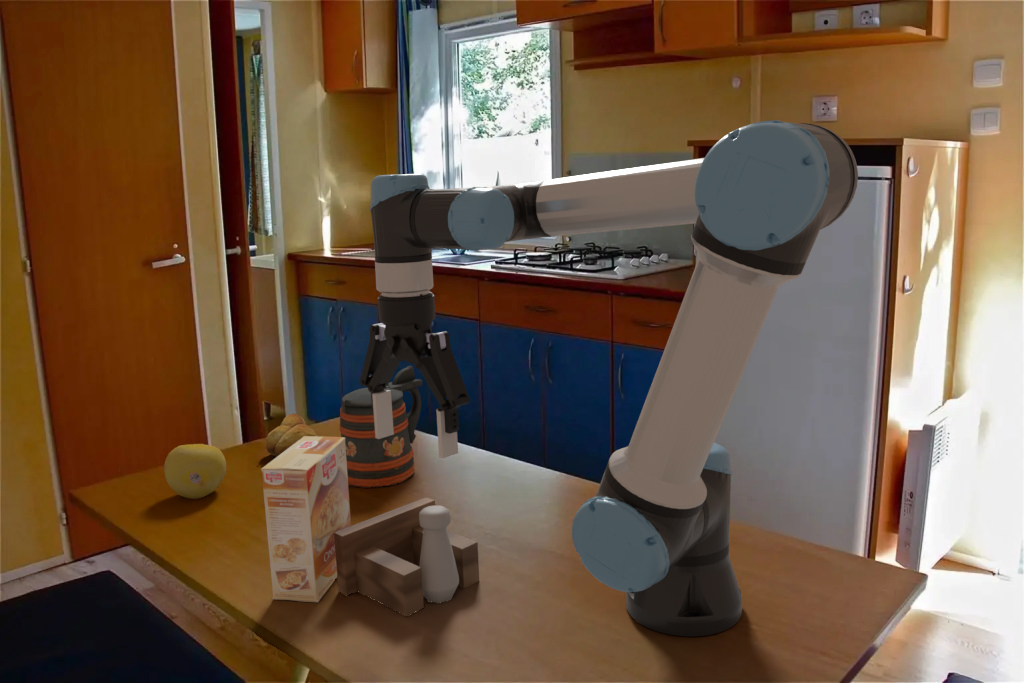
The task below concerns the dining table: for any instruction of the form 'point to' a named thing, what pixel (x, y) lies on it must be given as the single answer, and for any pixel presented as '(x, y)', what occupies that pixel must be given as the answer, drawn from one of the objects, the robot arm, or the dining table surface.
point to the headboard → (395, 558)
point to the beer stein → (388, 455)
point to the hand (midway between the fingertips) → (415, 445)
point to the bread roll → (287, 434)
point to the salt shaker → (437, 555)
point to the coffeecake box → (305, 516)
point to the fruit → (195, 470)
